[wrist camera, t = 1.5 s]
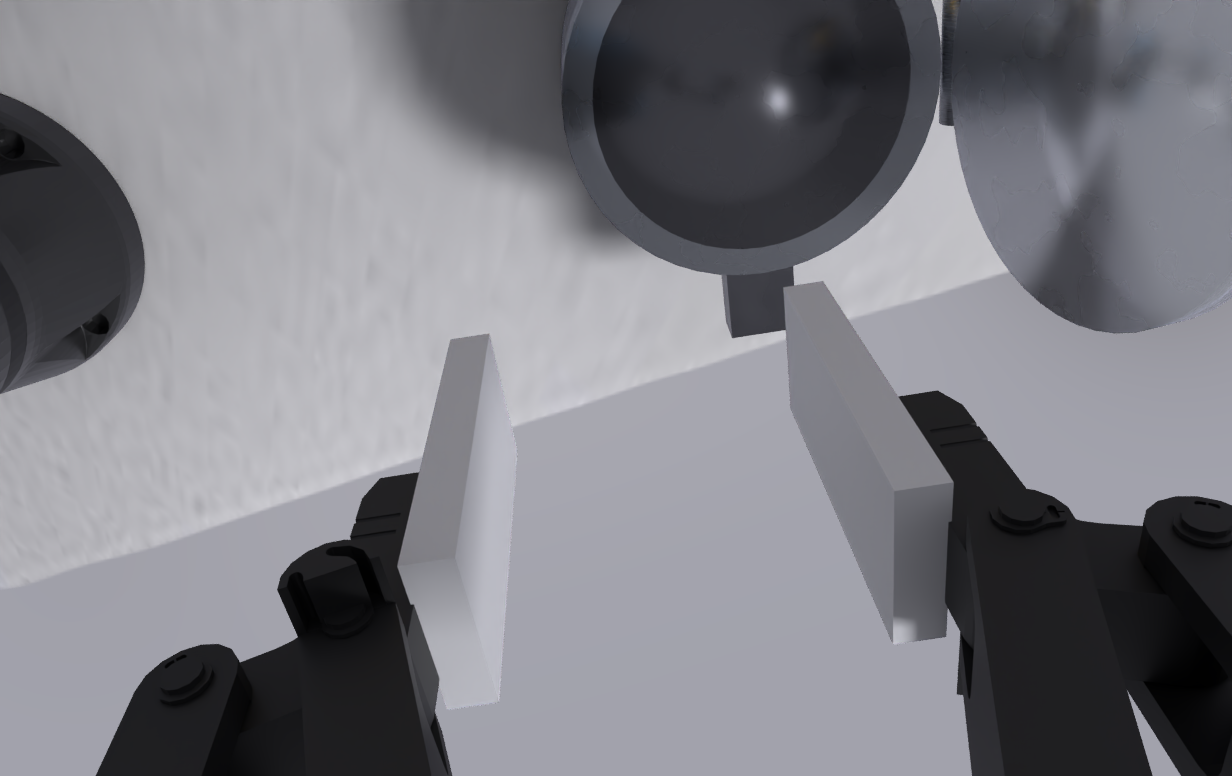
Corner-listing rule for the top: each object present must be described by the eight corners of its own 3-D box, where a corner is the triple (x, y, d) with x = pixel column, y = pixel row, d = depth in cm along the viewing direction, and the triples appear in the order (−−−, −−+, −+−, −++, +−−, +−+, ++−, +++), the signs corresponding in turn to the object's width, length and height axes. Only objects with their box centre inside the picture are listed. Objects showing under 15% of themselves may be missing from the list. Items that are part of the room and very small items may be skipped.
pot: (598, 283, 50) (606, 369, 41) (519, -182, 39) (508, -198, 30) (900, 235, 50) (973, 312, 41) (905, -248, 39) (1006, -284, 30)
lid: (1224, 416, 26) (1332, 386, 27) (1361, -197, 19) (1508, -223, 19) (945, 247, 39) (1020, 229, 39) (959, -154, 32) (1053, -171, 32)
